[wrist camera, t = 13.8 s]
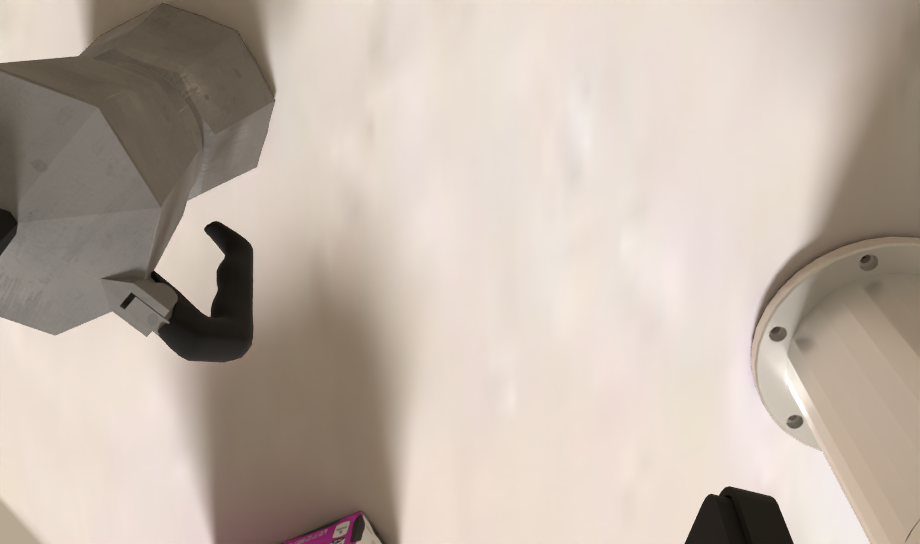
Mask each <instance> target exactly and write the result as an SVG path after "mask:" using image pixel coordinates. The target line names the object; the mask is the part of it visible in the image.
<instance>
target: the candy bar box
mask: <svg viewBox="0 0 920 544" xmlns="http://www.w3.org/2000/svg"><path fill="white" fill-rule="evenodd" d="M282 544H384V542H383V541H382V539H381V538H380V536H379V534H378V533H377V532H376V530H375V529H374V527H373V525H372V524H371V522H370V521H369V520H368V519H367V517H366V516H365V515H364V513H363V512H358V513H355V514H353V515H351V516H348V517H346V518H343V519H341V520H339V521H336V522H334V523H331V524H329V525H326V526H324V527H321V528H319V529H316V530H314V531H312V532H309V533H307V534H304V535H302V536H299V537H297V538H294V539H292V540H289V541H287V542H284V543H282Z"/></svg>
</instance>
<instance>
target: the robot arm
mask: <svg viewBox="0 0 920 544" xmlns="http://www.w3.org/2000/svg"><path fill="white" fill-rule="evenodd" d="M866 255H867V256H866ZM864 256H866V257H865V258H864V259H862V257H864ZM775 327H777V328H775ZM773 328H775V329H773ZM751 369H752V374H753V378H754V383H755V387H756V389H757V391H758V394H759V396H760V398H761V401H762V403H763V405H764V406H765V408H766V409H767V411H768V413H769V414H770V416H771V417H772V419H773V420H774V421H775V422H776V423H777V424H778V425H779V427H780V428H781V429H782V430H783V431H785V432H786V433H787V434H789V435H790V436H792V437H793V438H795V439H796V440H798V441H799V442H801V443H802V444H804V445H807V446H809V447H812V448H814V449H817V450H819V451H821V452H823V454H824V456H825V457H826V459H827V461H828V463H829V465H830V467H831V469H832V471H833V473H834V475H835V477H836V478H837V480H838V482H839V484H840V486H841V488H842V490H843V492H844V494H845V496H846V498H847V499H848V501H849V503H850V505H851V507H852V509H853V511H854V513H855V515H856V517H857V519H858V520H859V522H860V524H861V526H862V528H863V530H864V532H865V534H866V536H867V538H868V540H869V542H870V543H871V544H920V238H915V237H894V236H891V237H883V238H875V239H867V240H863V241H860V242H856V243H853V244H849V245H846V246H843V247H840V248H838V249H836V250H834V251H831V252H829V253H827V254H825V255H823V256H821V257H819V258H817V259H816V260H814V261H813V262H811V263H810V264H808V265H807V266H805V267H804V268H802V269H801V270H800V271H798V272H797V273H796V274H795V275H794V276H793V277H792V278H790V279H789V280H788V281H787V282H786V283H785V284H784V285H783V286H782V287H781V288H780V289H779V290H778V292H777V293H776V295H775V296H774V297H773V299H772V300H771V301H770V303H769V304H768V305H767V307H766V308H765V311H764V313H763V315H762V317H761V319H760V321H759V323H758V325H757V327H756V331H755V335H754V340H753V344H752V350H751ZM685 544H794V543H793V541H792V538H791V536H790V533H789V531H788V528H787V526H786V523H785V521H784V518H783V516H782V513H781V511H780V508H779V506H778V504H777V502H776V500H775V499H774V498H773V497H771V496H768V495H764V494H759V493H755V492H751V491H747V490H743V489H738V488H734V487H730V486H729V487H725V488H724V489H723V490H722V491H721V493H720V495H719V496H718V495H714V494H710V495H708V496H707V497H706V498H705V500H704V502H703V504H702V506H701V508H700V510H699V513H698V515H697V517H696V519H695V522H694V524H693V526H692V528H691V531H690V533H689V535H688V537H687V540H686V542H685Z"/></svg>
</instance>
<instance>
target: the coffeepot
mask: <svg viewBox="0 0 920 544" xmlns="http://www.w3.org/2000/svg"><path fill="white" fill-rule="evenodd" d="M274 103H275V99H274V97H273V95H272V93H271V92H270V90H269V88H268V86H267V84H266V82H265V80H264V77H263V75H262V73H261V70H260V68H259V66H258V64H257V63H256V61H255V60H254V58H253V57H252V55H251V54H250V52H249V51H248V49H247V48H246V46H245V44H244V43H243V41H242V39H241V37H240V35H239V33H238V32H237V31H236V30H233V29H230V28H228V27H225V26H222V25H220V24H217V23H215V22H213V21H211V20H209V19H207V18H205V17H203V16H200V15H196V14H192V13H189V12H185V11H183V10H180V9H177V8H175V7H172V6H170V5H167V4H164V3H162V4H160V5H158V6H156V7H155V8H153V9H151V10H149V11H147V12H145V13H143V14H141V15H139V16H137V17H135V18H133V19H131V20H129V21H127V22H126V23H124V24H122V25H120V26H118V27H116V28H114V29H112V30H110V31H108V32H106V33H104V34H102V35H100V36H99V37H98V38H97V39H96V40H95V41H94V42H93V43H92V44H91V45H90V46H89V47H88V48H87V49H86V50H85V51H84V52H82V53H81V54H80V55H79V56H77V57H65V58H54V59H43V60H31V61H20V62H8V63H0V317H2V318H5V319H8V320H11V321H14V322H17V323H20V324H23V325H26V326H29V327H32V328H35V329H38V330H41V331H44V332H47V333H49V334H52V335H58V334H60V333H62V332H65V331H67V330H69V329H72V328H74V327H76V326H79V325H81V324H83V323H86V322H88V321H91V320H93V319H95V318H98V317H100V316H102V315H105V314H107V313H109V312H112V311H113V312H114V313H116V314H117V315H118V316H120V317H121V318H122V319H124V320H125V321H126V322H128V323H129V324H130V325H132V326H133V327H134V328H136V329H137V330H138V331H140V332H141V333H142V334H144V335H145V336H146V337H147V336H148V335H149V334H150V333H151V332H152V331H153V332H155V333H156V334H157V335H158V336H159V337H160V338H161V339H162V340H163V341H164V342H165V343H166V344H167V345H168V346H169V347H170V348H171V349H172V350H173V351H174V352H176V353H177V354H178V355H179V356H181V357H182V358H184V359H186V360H188V361H206V362H227V361H231V360H235V359H238V358H241V357H242V356H243V355H244V354H245V353H246V352H247V351H248V350H249V348H250V347H251V345H252V339H253V248H252V246H251V244H250V243H249V242H248V241H247V240H246V239H245V238H243V237H242V236H241V235H239V234H238V233H236V232H235V231H233V230H232V229H230V228H228V227H227V226H225V225H224V224H222V223H220V222H218V221H215V222H212V223H210V224H209V225H207V226H206V227H205V229H204V230H205V232H206V234H207V235H209V236H210V237H211V238H212V240H213V241H214V242H215V243H216V244H217V246H218V247H219V248H220V249H221V251H222V252H223V253H224V255H225V258H224V260H223V261H222V262H221V264H220V265H219V267H218V269H217V286H218V291H217V294H216V296H215V298H214V300H213V303H212V307H211V317H208V316H206V315H204V314H203V313H201V312H200V311H199V310H198V309H197V308H196V307H195V306H194V305H192V304H191V303H190V302H189V301H188V300H187V299H186V298H185V297H184V296H183V295H182V294H181V293H180V292H179V291H178V290H177V289H176V288H174V287H173V286H172V285H171V284H170V283H168V282H167V281H166V280H165V279H163V278H162V277H161V276H160V275H159V274H157V273H156V272H155V271H154V269H155V267H156V265H157V263H158V262H159V260H160V258H161V256H162V254H163V252H164V250H165V248H166V246H167V244H168V242H169V241H170V239H171V237H172V235H173V233H174V231H175V229H176V227H177V225H178V223H179V221H180V220H181V218H182V216H183V213H184V210H185V206H186V203H187V201H188V200H190V199H192V198H194V197H196V196H198V195H200V194H202V193H204V192H206V191H208V190H210V189H212V188H214V187H216V186H218V185H220V184H222V183H224V182H227V181H229V180H231V179H233V178H235V177H237V176H239V175H241V174H243V173H245V172H247V171H249V170H252V169H254V168H256V167H257V164H258V161H259V157H260V154H261V150H262V147H263V144H264V141H265V138H266V135H267V132H268V126H269V121H270V117H271V114H272V110H273V107H274Z"/></svg>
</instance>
